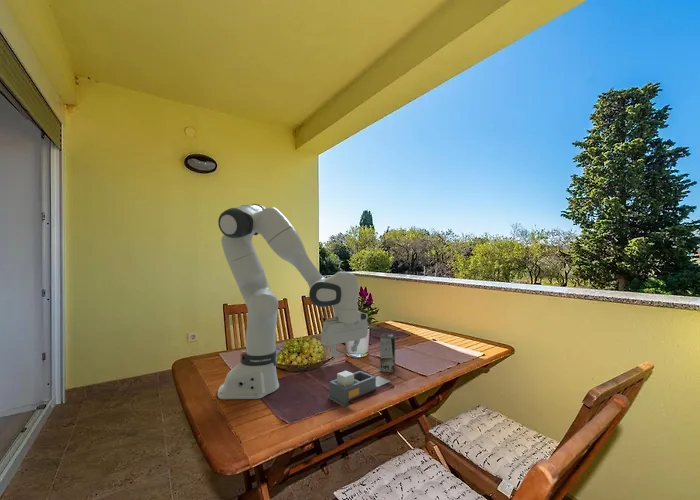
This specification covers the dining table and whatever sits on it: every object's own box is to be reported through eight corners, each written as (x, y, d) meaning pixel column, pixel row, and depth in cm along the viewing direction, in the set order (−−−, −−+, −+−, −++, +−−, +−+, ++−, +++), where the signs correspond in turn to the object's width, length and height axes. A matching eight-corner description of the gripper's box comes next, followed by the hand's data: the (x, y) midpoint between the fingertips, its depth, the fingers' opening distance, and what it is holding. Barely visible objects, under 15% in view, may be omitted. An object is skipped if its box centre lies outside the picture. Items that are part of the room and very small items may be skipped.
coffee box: (394, 375, 129) (394, 338, 130) (379, 374, 131) (379, 337, 131) (395, 368, 138) (395, 333, 139) (381, 367, 140) (381, 332, 140)
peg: (344, 399, 105) (345, 377, 105) (336, 395, 109) (337, 373, 109) (353, 396, 108) (354, 373, 108) (345, 392, 112) (346, 370, 112)
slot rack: (344, 407, 102) (344, 389, 102) (328, 398, 109) (328, 381, 109) (392, 385, 120) (392, 370, 120) (376, 378, 126) (376, 364, 126)
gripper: (329, 320, 100) (328, 362, 100) (371, 314, 114) (369, 350, 113) (318, 317, 105) (316, 357, 104) (359, 311, 119) (358, 346, 118)
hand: (344, 353), depth 109 cm, fingers open, 8 cm apart
